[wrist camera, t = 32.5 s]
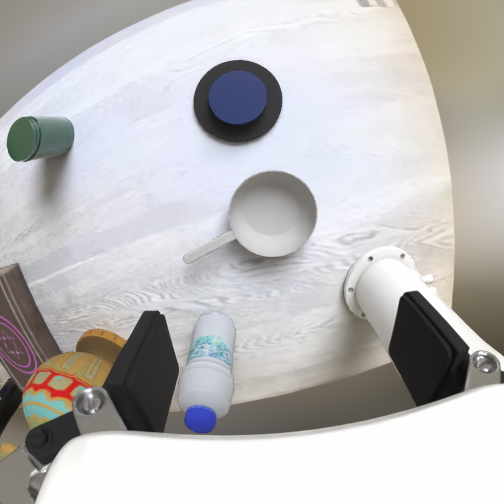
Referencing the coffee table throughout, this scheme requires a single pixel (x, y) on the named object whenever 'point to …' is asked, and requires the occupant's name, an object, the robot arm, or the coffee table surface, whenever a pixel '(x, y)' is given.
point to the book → (22, 329)
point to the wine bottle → (9, 402)
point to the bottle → (208, 373)
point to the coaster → (244, 131)
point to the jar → (39, 138)
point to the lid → (237, 97)
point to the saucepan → (267, 216)
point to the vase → (68, 378)
